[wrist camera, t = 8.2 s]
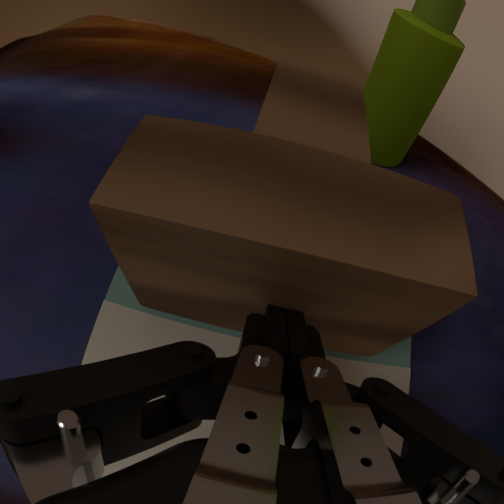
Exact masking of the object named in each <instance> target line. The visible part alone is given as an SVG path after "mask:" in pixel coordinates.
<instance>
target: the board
mask: <svg viewBox="0 0 504 504" xmlns="http://www.w3.org/2000/svg"><path fill="white" fill-rule="evenodd" d="M242 333H243V332H239V331H235V330H230V329H226V328H222V327H218V326H214V325H210V324H206V323H202V322H198V321H195V320H191V319H187V318H183V317H180V316H176V315H172V314H169V313H165V312H162V311H158V310H155V309H151V308H148V307H144V306H141V305H140V303H139V302H138V300H137V298H136V296H135V294H134V293H133V291H132V289H131V287H130V285H129V284H128V282H127V280H126V278H125V276H124V274H123V272H122V270H121V269H120V267H119V265H118V268H117V270H116V272H115V275H114V277H113V280H112V282H111V285H110V287H109V290H108V292H107V295H106V298H105V300H104V301H103V304H102V306H101V309H100V312H99V314H98V317H97V320H96V323H95V326H94V328H93V331H92V334H91V337H90V340H89V343H88V346H87V349H86V352H85V355H84V358H83V361H82V364H81V365H84V364H89V363H93V362H98V361H102V360H107V359H111V358H116V357H120V356H124V355H128V354H132V353H137V352H141V351H145V350H149V349H153V348H157V347H160V346H164V345H168V344H172V343H176V342H180V341H195V342H199V343H202V344H205V345H207V346H208V347H210V348H211V349H212V350H213V351H214V352H215V354H216V357H231V356H234V355H236V354H237V353H238V349H239V345H240V341H241V337H242ZM324 353H325V357H326V360H328V361H330V362H332V363H333V364H335V365H336V366H337V367H338V368H339V370H340V372H341V375H342V377H343V379H344V382H347V383H349V384H352V385H355V386H358V387H360V386H361V384H362V382H363V380H364V379H366V378H369V377H377V378H381V379H384V380H386V381H388V382H390V383H392V384H393V385H395V386H396V387H397V388H399V389H400V390H402V391H403V392H405V393H406V394H408V395H409V385H410V372H411V368H410V360H411V336H410V337H408V338H406V339H405V340H403V341H401V342H399V343H397V344H395V345H393V346H391V347H389V348H387V349H385V350H383V351H381V352H379V353H377V354H375V355H373V356H371V357H366V356H360V355H354V354H348V353H342V352H336V351H330V350H325V349H324ZM162 397H164V395H163V396H160V397H157V398H154V399H152V400H150V401H149V402H151V401H154V400H157V399H160V398H162ZM147 403H148V402H147ZM214 422H215V420H202V423H201V425H200V426H199V427H198V428H196V429H194V430H192V431H190V432H187V433H185V434H183V435H181V436H179V437H176V438H174V439H172V440H170V441H167V442H165V443H163V444H160V445H158V446H156V447H153V448H151V449H148V450H146V451H143V452H141V453H138V454H136V455H133V456H131V457H128V458H125V459H123V460H120V461H117V462H115V463H112V464H109V465H106V466H104V472H103V475H102V477H104V476H107V475H109V474H112V473H114V472H116V471H119V470H121V469H124V468H126V467H128V466H131V465H133V464H135V463H137V462H140V461H142V460H144V459H146V458H148V457H151V456H153V455H155V454H157V453H159V452H161V451H163V450H165V449H167V448H169V447H172V446H174V445H176V444H178V443H181V442H184V441H188V440H192V439H199V438H209V436H210V433H211V430H212V428H213V425H214ZM380 432H381V434H382V436H383V439H384V441H385V443H386V446H387V447H389V448H390V449H391V450H393V451H394V452H395V453H396V454H398V455H399V456H401V450H402V444H403V438H402V437H401V436H399V435H398V434H397V433H395V432H394V431H393V430H391V429H390V428H389V427H388V426H386V425H385V424H384V423H383V425H382V427H381V428H380ZM102 477H101V478H102Z"/></svg>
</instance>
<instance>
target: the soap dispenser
mask: <svg viewBox="0 0 504 504" xmlns="http://www.w3.org/2000/svg"><path fill="white" fill-rule="evenodd" d="M465 4H466V2H465V0H416V2H415V4H414V7H413V9H412V11H408V10H403V9H394V11H393V14H392V17H391V19H390V22H389V25H388V28H387V30H386V33H385V36H384V38H383V41H382V44H381V46H380V49H379V52H378V54H377V57H376V59H375V62H374V65H373V67H372V70H371V72H370V75H369V78H368V80H367V83H366V85H365V88H364V90H363V92H364V99H365V107H366V115H367V124H368V133H369V144H370V155H371V163H373V164H376V165H379V166H383V167H394V166H397V165H399V164H400V163H401V162H402V160H403V158H404V157H405V155H406V153H407V152H408V150H409V148H410V147H411V145H412V143H413V142H414V140H415V138H416V137H417V135H418V133H419V131H420V129H421V128H422V126H423V125H424V123H425V121H426V119H427V118H428V116H429V114H430V112H431V111H432V109H433V107H434V105H435V103H436V102H437V100H438V98H439V96H440V94H441V92H442V91H443V88H444V87H445V85H446V83H447V81H448V79H449V77H450V76H451V74H452V72H453V70H454V68H455V66H456V64H457V62H458V60H459V58H460V56H461V54H462V52H463V50H464V48H465V46H464V44H463V43H462V42H461V41H460V40H459V39H458V38H457V37H456V36H455V35H454V34H453V31H454V29H455V27H456V25H457V23H458V20H459V18H460V15H461V13H462V11H463V9H464V7H465Z"/></svg>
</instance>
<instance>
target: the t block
mask: <svg viewBox="0 0 504 504" xmlns="http://www.w3.org/2000/svg"><path fill="white" fill-rule="evenodd" d="M89 205H90V207H91V209H92V211H93V214H94V216H95V218H96V220H97V222H98V224H99V227H100V229H101V231H102V233H103V235H104V237H105V239H106V241H107V243H108V245H109V247H110V249H111V251H112V253H113V255H114V257H115V259H116V261H117V263H118V265H119V267H120V269H121V270H122V272H123V274H124V276H125V278H126V280H127V282H128V284H129V285H130V287H131V289H132V291H133V293H134V294H135V296H136V298H137V300H138V302H139V303H140V305H141V306H144V307H148V308H151V309H155V310H158V311H162V312H165V313H169V314H172V315H176V316H180V317H183V318H187V319H191V320H195V321H198V322H202V323H206V324H210V325H214V326H218V327H222V328H226V329H230V330H235V331H239V332H243V329H244V325H245V321H246V317H247V316H248V315H250V314H251V313H258V314H262V315H264V314H265V310H266V307H267V305H268V304H270V305H274V306H278V307H283V308H285V309H286V308H287V309H291V310H296V311H300V312H303V313H304V318H305V323H306V325H311V326H314V327H315V329H316V330H317V331H318V332H319V333H320V337H321V341H322V347H323V349H325V350H330V351H336V352H342V353H348V354H354V355H360V356H366V357H371V356H373V355H375V354H377V353H379V352H381V351H383V350H385V349H387V348H389V347H391V346H393V345H395V344H397V343H399V342H401V341H403V340H405V339H406V338H408V337H410V336H412V335H414V334H416V333H418V332H419V331H421V330H423V329H425V328H427V327H428V326H430V325H432V324H434V323H435V322H437V321H439V320H440V319H442V318H444V317H445V316H447V315H449V314H450V313H452V312H454V311H455V310H457V309H459V308H460V307H462V306H463V305H465V304H467V303H468V302H470V301H471V300H473V299H474V298H476V297H477V287H476V279H475V272H474V265H473V259H472V253H471V247H470V242H469V236H468V231H467V227H466V222H465V217H464V213H463V209H462V204H461V200H460V197H459V196H456V195H454V194H452V193H449V192H447V191H444V190H442V189H439V188H437V187H434V186H431V185H429V184H426V183H424V182H421V181H418V180H416V179H413V178H410V177H407V176H405V175H402V174H399V173H396V172H393V171H390V170H387V169H384V168H381V167H378V166H375V165H372V164H371V155H370V144H369V133H368V124H367V115H366V107H365V99H364V92H363V85H362V80H360V79H358V78H354V77H351V76H348V75H345V74H342V73H338V72H335V71H331V70H328V69H324V68H321V67H317V66H313V65H309V64H305V63H301V62H297V61H293V60H288V59H284V58H279V61H278V64H277V67H276V69H275V72H274V75H273V78H272V81H271V83H270V86H269V89H268V92H267V95H266V98H265V100H264V103H263V106H262V109H261V112H260V115H259V118H258V121H257V123H256V126H255V129H254V132H248V131H243V130H239V129H234V128H229V127H223V126H218V125H213V124H207V123H201V122H195V121H189V120H183V119H176V118H169V117H162V116H154V115H145V116H144V118H143V119H142V120H141V122H140V123H139V124H138V126H137V127H136V129H135V130H134V132H133V133H132V134H131V136H130V137H129V139H128V140H127V142H126V143H125V145H124V146H123V148H122V149H121V151H120V152H119V154H118V155H117V157H116V158H115V160H114V161H113V163H112V165H111V166H110V168H109V169H108V171H107V172H106V174H105V176H104V177H103V179H102V181H101V182H100V184H99V186H98V187H97V189H96V191H95V192H94V194H93V196H92V198H91V199H90V201H89Z"/></svg>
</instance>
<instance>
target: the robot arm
mask: <svg viewBox="0 0 504 504" xmlns="http://www.w3.org/2000/svg"><path fill="white" fill-rule="evenodd" d="M163 395H164V397H162V398H160V399H157V400H154V401H151V402H149V401H150V400H152V399H154V398H157V397H160V396H163ZM147 402H148V403H147ZM202 420H215V422H214V425H213V428H212V430H211V433H210V436H209V438H199V439H192V440H188V441H184V442H181V443H178V444H176V445H174V446H172V447H169V448H167V449H165V450H163V451H161V452H159V453H157V454H155V455H153V456H151V457H148V458H146V459H144V460H142V461H140V462H137V463H135V464H133V465H131V466H128V467H126V468H124V469H121V470H119V471H116V472H114V473H112V474H109V475H107V476H104V477H102V475H103V472H104V466H106V465H109V464H112V463H115V462H117V461H120V460H123V459H125V458H128V457H131V456H133V455H136V454H138V453H141V452H143V451H146V450H148V449H151V448H153V447H156V446H158V445H160V444H163V443H165V442H167V441H170V440H172V439H174V438H176V437H179V436H181V435H183V434H185V433H187V432H190V431H192V430H194V429H196V428H198V427H199V426H200V425H201V423H202ZM383 423H384V424H385V425H386V426H388V427H389V428H390V429H391V430H393V431H394V432H395V433H397V434H398V435H399V436H401V437H402V438H404V439H405V440H406V441H407V442H408V444H409V446H410V451H409V453H408V455H407V456H406V457H405V458H402V457H400V456H399V455H398V454H396V453H395V452H394V451H393V450H391V449H390V448H389V447H387V446H386V443H385V441H384V439H383V436H382V434H381V432H380V428H381V427H382V425H383ZM0 442H1V445H2V447H3V449H4V451H5V453H6V455H7V457H8V460H9V462H10V464H11V466H12V468H13V469H14V471H15V473H16V475H17V476H18V477H19V478H20V481H21V483H22V485H23V487H24V489H25V492H26V494H27V496H28V498H29V500H30V502H31V504H504V458H502V457H501V456H499V455H498V454H496V453H495V452H493V451H492V450H490V449H488V448H487V447H485V446H484V445H482V444H481V443H479V442H478V441H476V440H475V439H473V438H472V437H470V436H469V435H467V434H466V433H464V432H462V431H461V430H459V429H458V428H456V427H455V426H453V425H452V424H450V423H449V422H447V421H446V420H444V419H443V418H441V417H440V416H439V415H437V414H436V413H434V412H433V411H431V410H430V409H428V408H427V407H425V406H424V405H422V404H421V403H419V402H418V401H416V400H415V399H413V398H412V397H411V396H409V395H408V394H406V393H405V392H403V391H402V390H400V389H399V388H397V387H396V386H395V385H393V384H392V383H390V382H388V381H386V380H384V379H381V378H377V377H369V378H366V379H364V380H363V382H362V384H361V386H360V387H358V386H355V385H352V384H349V383H347V382H344V379H343V377H342V375H341V372H340V370H339V368H338V367H337V366H336V365H335V364H333V363H332V362H330V361H328V360H326V357H325V353H324V349H323V347H322V341H321V337H320V333H319V332H318V331H317V330H316V329H315V327H314V326H311V325H306V323H305V318H304V313H303V312H300V311H296V310H291V309H287V308H286V309H285V308H283V307H278V306H274V305H270V304H268V305H267V307H266V310H265V314H264V315H262V314H258V313H251V314H250V315H248V316H247V317H246V321H245V325H244V329H243V333H242V337H241V341H240V345H239V349H238V353H237V354H236V355H234V356H231V357H216V354H215V352H214V351H213V350H212V349H211V348H210V347H208V346H207V345H205V344H202V343H199V342H195V341H180V342H176V343H172V344H168V345H164V346H160V347H157V348H153V349H149V350H145V351H141V352H137V353H132V354H128V355H124V356H120V357H116V358H111V359H107V360H102V361H98V362H93V363H89V364H84V365H80V366H75V367H70V368H65V369H60V370H55V371H50V372H45V373H39V374H34V375H28V376H22V377H17V378H11V379H4V380H0ZM101 477H102V478H101ZM441 477H442V478H441Z"/></svg>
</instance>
